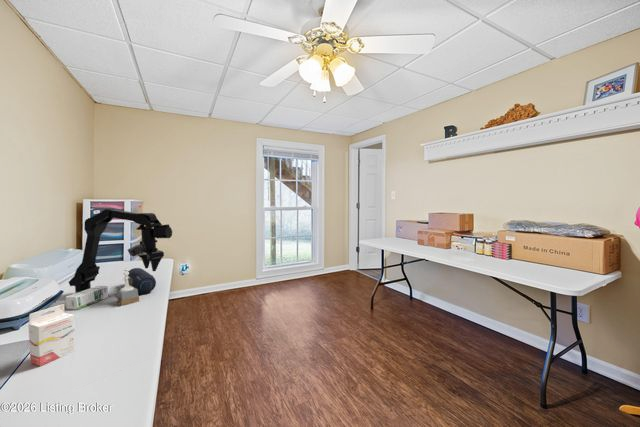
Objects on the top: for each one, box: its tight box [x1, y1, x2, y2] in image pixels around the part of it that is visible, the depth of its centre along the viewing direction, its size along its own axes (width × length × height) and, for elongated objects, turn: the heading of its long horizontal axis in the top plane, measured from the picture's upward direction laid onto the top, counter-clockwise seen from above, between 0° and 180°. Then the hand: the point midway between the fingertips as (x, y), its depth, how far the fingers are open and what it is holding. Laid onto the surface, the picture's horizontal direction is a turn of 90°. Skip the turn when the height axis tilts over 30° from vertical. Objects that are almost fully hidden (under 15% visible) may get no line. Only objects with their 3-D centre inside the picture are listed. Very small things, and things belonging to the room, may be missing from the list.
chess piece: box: [120, 267, 134, 292], centre depth 119 cm, size 5×5×10 cm
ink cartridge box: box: [28, 303, 76, 367], centre depth 78 cm, size 9×5×15 cm, turn 160°
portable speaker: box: [127, 267, 157, 295], centre depth 136 cm, size 25×10×10 cm, turn 48°
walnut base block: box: [116, 294, 140, 307], centre depth 120 cm, size 7×7×3 cm
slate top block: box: [117, 287, 139, 300], centre depth 120 cm, size 6×6×3 cm
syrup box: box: [65, 285, 109, 310], centre depth 119 cm, size 6×6×14 cm
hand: (150, 269), depth 128 cm, fingers open, 9 cm apart
